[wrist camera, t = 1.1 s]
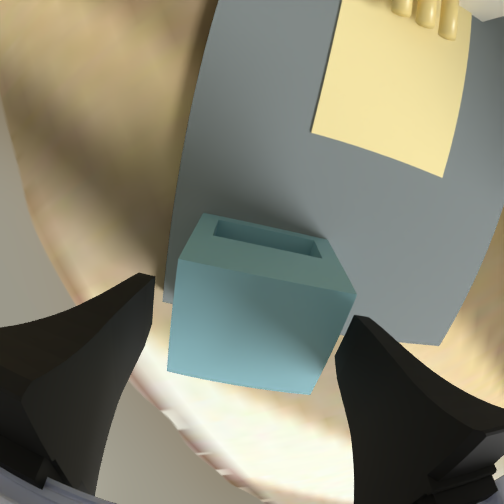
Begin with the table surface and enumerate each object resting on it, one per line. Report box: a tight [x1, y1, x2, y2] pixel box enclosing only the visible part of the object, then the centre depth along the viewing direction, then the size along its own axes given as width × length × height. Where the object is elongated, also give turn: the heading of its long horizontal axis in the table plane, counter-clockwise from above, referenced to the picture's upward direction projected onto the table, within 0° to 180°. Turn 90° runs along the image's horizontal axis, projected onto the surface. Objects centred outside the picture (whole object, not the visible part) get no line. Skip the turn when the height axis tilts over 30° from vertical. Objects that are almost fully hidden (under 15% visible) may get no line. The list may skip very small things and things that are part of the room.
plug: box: [167, 213, 357, 395], centre depth 12 cm, size 5×5×5 cm
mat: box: [163, 0, 504, 346], centre depth 11 cm, size 16×22×1 cm
